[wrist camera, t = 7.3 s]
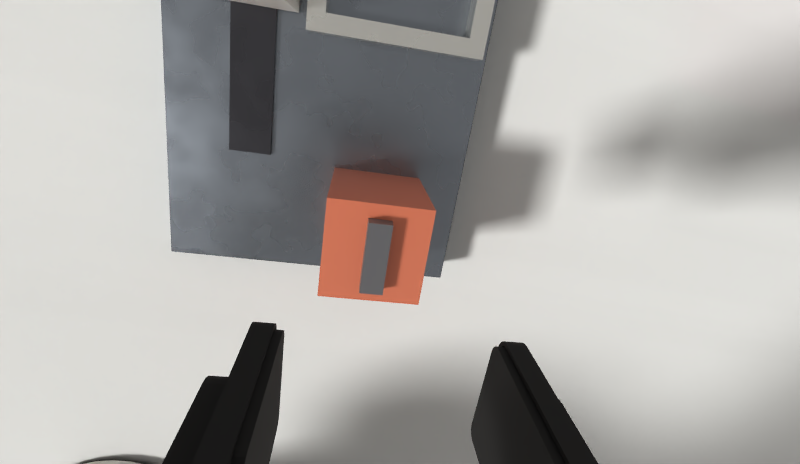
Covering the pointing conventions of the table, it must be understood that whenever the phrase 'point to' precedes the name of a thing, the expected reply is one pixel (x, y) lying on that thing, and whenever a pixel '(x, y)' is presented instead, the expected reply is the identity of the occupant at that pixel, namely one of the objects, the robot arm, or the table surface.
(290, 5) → the block
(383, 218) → the cap
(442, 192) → the panel
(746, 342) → the table surface
